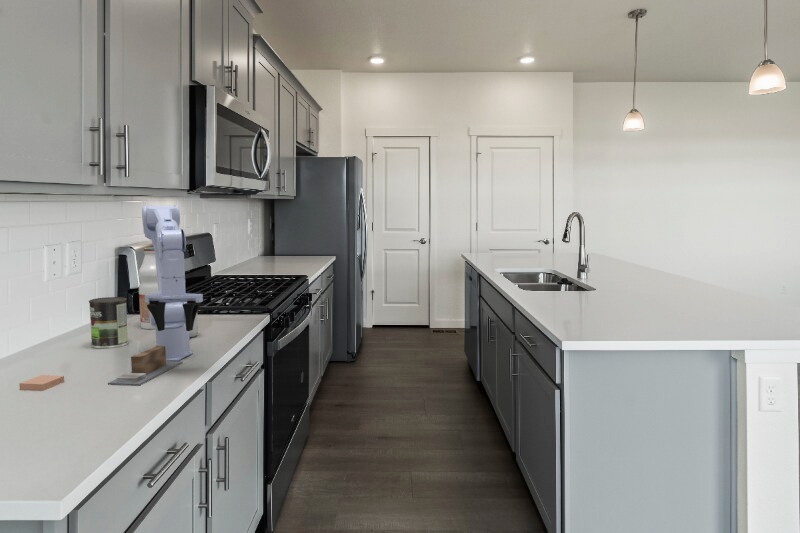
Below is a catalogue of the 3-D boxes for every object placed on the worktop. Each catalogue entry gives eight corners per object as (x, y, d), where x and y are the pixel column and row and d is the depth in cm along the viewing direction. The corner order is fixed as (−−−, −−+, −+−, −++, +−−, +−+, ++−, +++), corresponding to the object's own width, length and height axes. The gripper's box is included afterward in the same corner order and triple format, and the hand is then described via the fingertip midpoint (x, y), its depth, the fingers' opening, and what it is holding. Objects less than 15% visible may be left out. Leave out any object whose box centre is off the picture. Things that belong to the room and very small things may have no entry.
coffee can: (101, 350, 178) (99, 303, 177) (85, 345, 185) (82, 300, 183) (135, 344, 186) (132, 298, 185) (118, 339, 193) (116, 295, 191)
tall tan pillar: (152, 364, 160) (152, 345, 160) (170, 364, 159) (170, 346, 159) (116, 381, 144) (115, 361, 143) (136, 382, 143) (135, 361, 143)
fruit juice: (148, 330, 207) (143, 248, 204) (136, 327, 213) (132, 247, 211) (174, 326, 214) (170, 247, 211) (161, 323, 220) (158, 246, 217)
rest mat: (154, 362, 164) (154, 360, 164) (182, 362, 163) (182, 361, 163) (107, 384, 143) (107, 382, 143) (139, 385, 142) (139, 383, 142)
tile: (41, 375, 146) (19, 383, 140) (64, 375, 146) (42, 384, 139) (41, 382, 147) (19, 391, 140) (64, 383, 146) (43, 392, 139)
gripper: (137, 278, 150) (140, 333, 151) (192, 278, 148) (195, 333, 149) (152, 276, 157) (154, 328, 158) (205, 275, 155) (207, 328, 156)
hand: (175, 330), depth 154 cm, fingers open, 7 cm apart
